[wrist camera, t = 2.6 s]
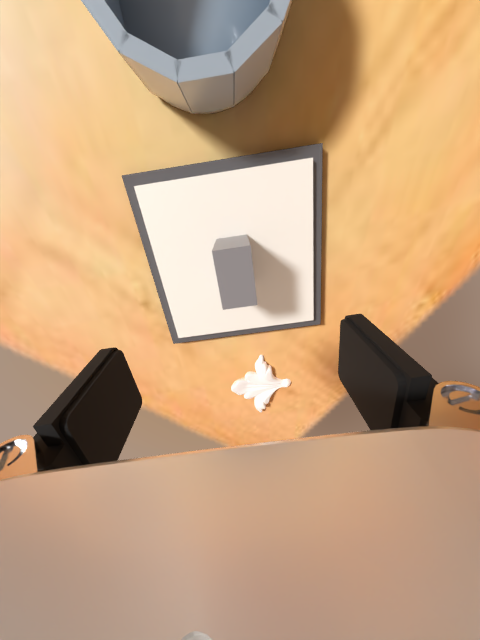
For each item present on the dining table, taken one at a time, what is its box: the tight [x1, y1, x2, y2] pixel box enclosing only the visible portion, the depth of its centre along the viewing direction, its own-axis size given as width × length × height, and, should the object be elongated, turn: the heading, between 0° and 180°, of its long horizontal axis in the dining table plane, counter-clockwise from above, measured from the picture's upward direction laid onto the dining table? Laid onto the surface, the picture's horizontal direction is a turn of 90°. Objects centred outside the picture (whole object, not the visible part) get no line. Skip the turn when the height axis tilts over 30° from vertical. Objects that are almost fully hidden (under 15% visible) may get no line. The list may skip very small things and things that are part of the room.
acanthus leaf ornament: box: [231, 355, 291, 412], centre depth 34 cm, size 8×7×2 cm
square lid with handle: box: [134, 158, 314, 338], centre depth 23 cm, size 16×16×7 cm
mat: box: [122, 143, 322, 344], centre depth 26 cm, size 18×18×1 cm
